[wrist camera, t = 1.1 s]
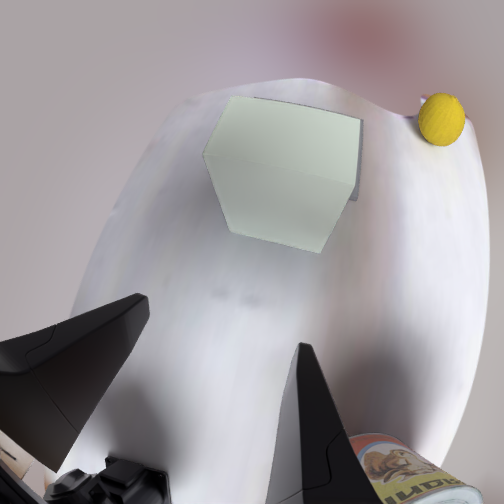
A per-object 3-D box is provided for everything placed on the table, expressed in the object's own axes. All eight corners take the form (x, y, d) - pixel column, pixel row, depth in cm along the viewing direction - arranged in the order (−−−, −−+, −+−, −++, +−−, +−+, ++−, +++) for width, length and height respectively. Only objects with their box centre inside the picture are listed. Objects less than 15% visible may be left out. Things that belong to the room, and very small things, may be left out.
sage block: (319, 253, 23) (354, 185, 13) (230, 231, 24) (202, 153, 14) (329, 203, 24) (360, 119, 14) (246, 184, 26) (231, 95, 15)
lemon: (410, 118, 28) (431, 74, 20) (445, 136, 27) (471, 96, 19) (408, 145, 26) (434, 98, 19) (446, 165, 25) (478, 124, 18)
